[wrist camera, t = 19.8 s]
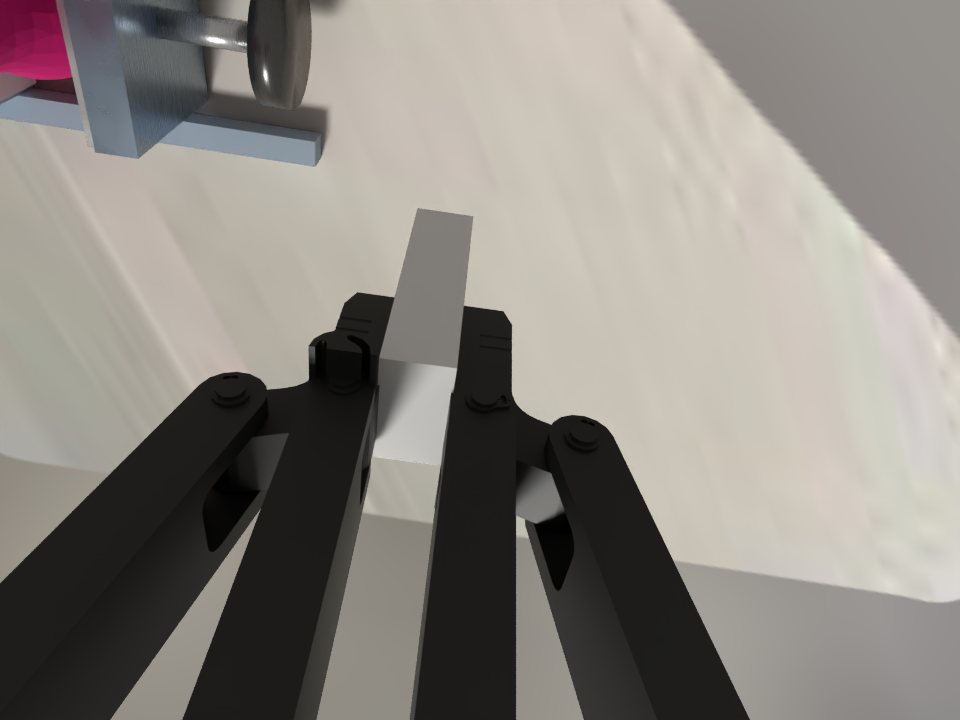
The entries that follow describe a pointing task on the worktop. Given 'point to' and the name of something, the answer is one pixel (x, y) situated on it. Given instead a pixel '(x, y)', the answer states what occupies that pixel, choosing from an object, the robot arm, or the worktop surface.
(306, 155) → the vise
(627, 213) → the worktop surface
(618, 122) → the worktop surface
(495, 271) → the worktop surface
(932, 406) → the worktop surface
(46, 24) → the pepper mill
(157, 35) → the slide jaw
